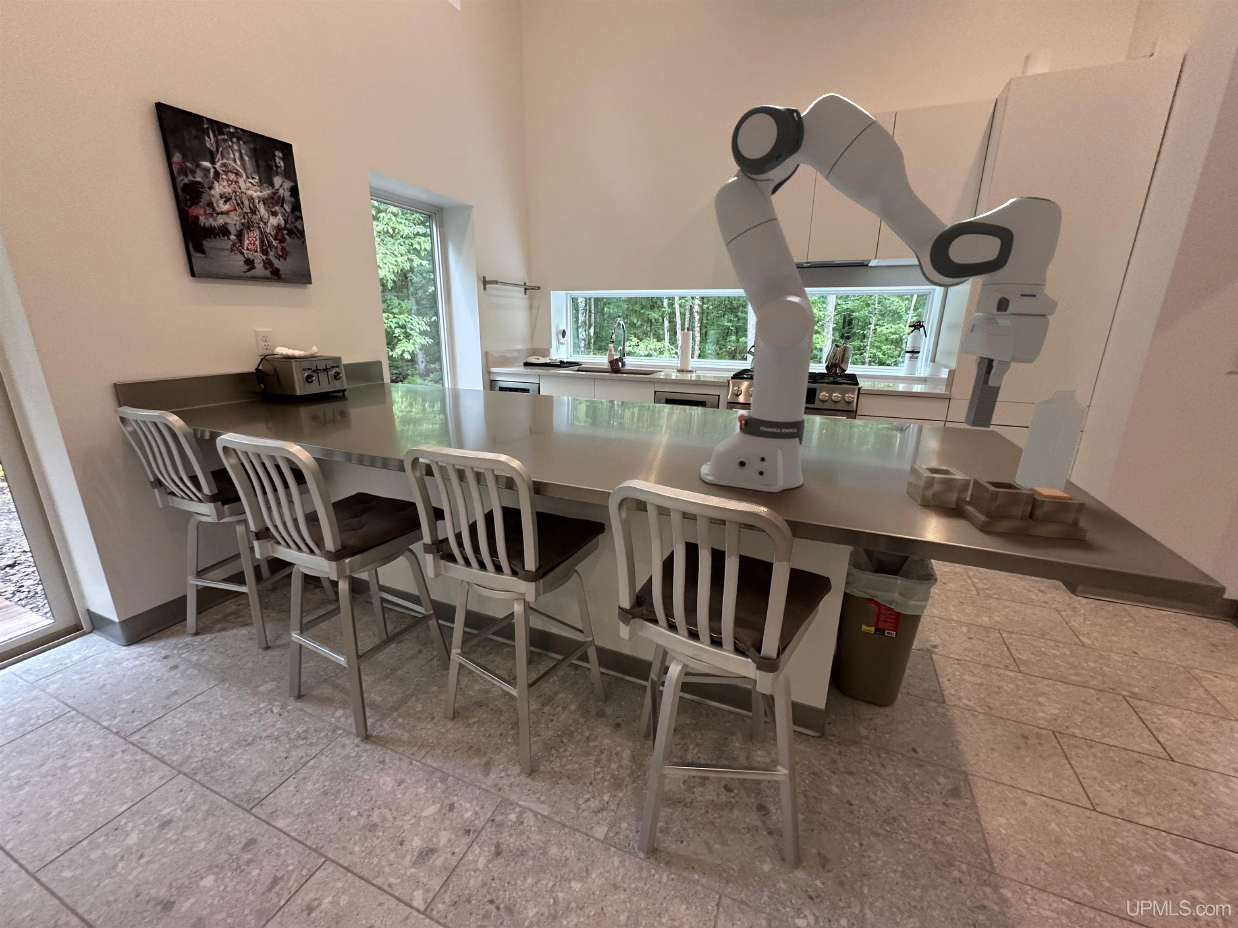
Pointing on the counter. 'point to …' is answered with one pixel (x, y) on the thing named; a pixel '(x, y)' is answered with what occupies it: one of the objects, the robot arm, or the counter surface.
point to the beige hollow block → (937, 485)
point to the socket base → (1021, 511)
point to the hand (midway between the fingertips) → (986, 384)
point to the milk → (1051, 441)
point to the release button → (1050, 493)
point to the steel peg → (982, 397)
